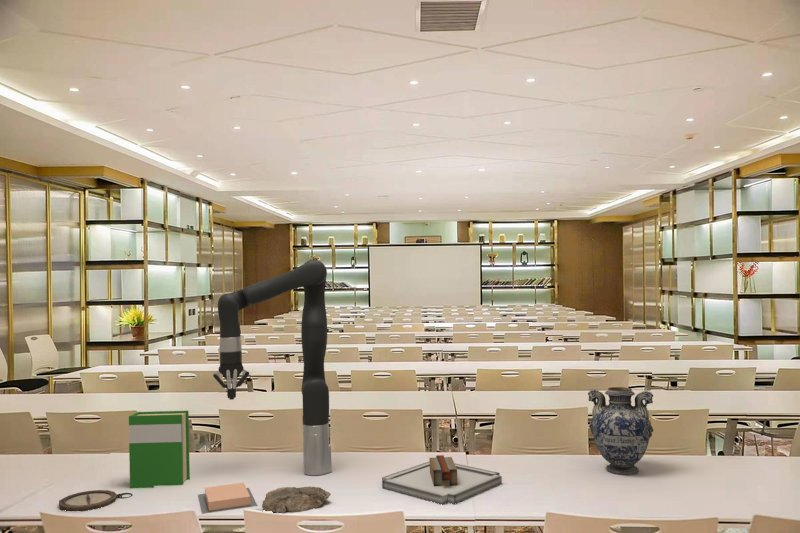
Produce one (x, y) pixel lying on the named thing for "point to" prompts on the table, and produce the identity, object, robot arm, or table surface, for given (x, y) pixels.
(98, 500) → the compass
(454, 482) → the grey square tray
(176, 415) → the hardback book
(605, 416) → the decorative vase
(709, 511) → the table surface
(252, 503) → the rubber mat
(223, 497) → the terracotta tile
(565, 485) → the table surface
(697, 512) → the table surface
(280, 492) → the clay tablet
